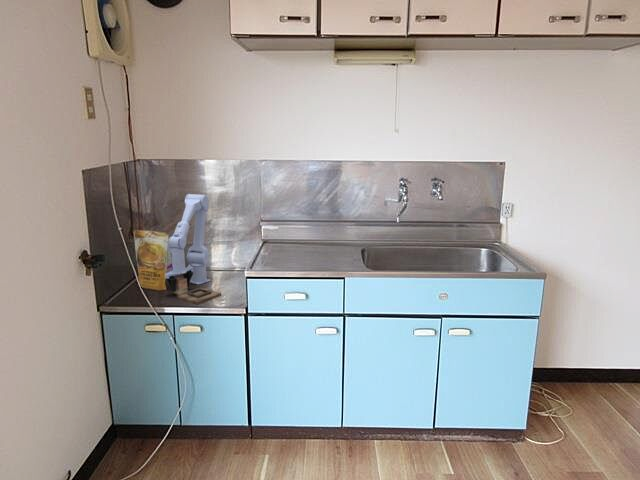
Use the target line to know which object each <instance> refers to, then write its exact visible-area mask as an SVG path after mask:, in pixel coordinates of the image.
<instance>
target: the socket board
mask: <svg viewBox="0 0 640 480" xmlns="http://www.w3.org/2000/svg"><path fill="white" fill-rule="evenodd" d="M221 296H222V292H219V291H215V290H212V289H210V288H206V287H202V286H200V287H197V288H194V289H191V290H188V292H185V293H182V294H179V295H177V294H176V297H177V299H180V300H183V301H185V302H188V303H191V304H195V305H200V304H203V303H205V302H208V301H210V300H213V299H215V298H218V297H221Z"/></svg>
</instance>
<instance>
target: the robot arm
mask: <svg viewBox="0 0 640 480" xmlns="http://www.w3.org/2000/svg"><path fill="white" fill-rule="evenodd" d="M209 201H210V200H209V198H208V196H207V194H193V193H188V194H186V195H185V197H184V207H185V208H184V209H183V214H182V218H181V221H178V222H177V225H176V226H175V229H174V232H173V234H172V236H169V240H168V246H169V248H170V252H171V256H172V267H173V270H172V271H170V272H168V273H166V274H165V278H166V279H165V281H167V283H168V284H169V287H170V289H171V292H173V293H174V292H176V278H177V277H175V276H179V275H182V277H183V278H186V279H187V288H190V284H191V283H192V284H195V285H203V284H205V283H207V282H210V281H211V279H210V278H209V279H208V277H207V264H208V263H209V261H210V254H209V248H208V247H206V246H205V234H206V233H205V232H206V221H207V220H206V218H207V212H208V211H209ZM194 214H195V215H194ZM193 216H194V227H193V228H194V229H193V242H192V243H193V244H192V245H191V246H190V247H189V248H188V251H187V253H186V258H185V248H186V245H187V239H188V238H187V237H188V236H187V235H188V233H189V230H190V221H191V220H192V218H193ZM186 261H187V263H189V264H188V266H186Z"/></svg>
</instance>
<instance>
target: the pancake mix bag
mask: <svg viewBox="0 0 640 480" xmlns="http://www.w3.org/2000/svg"><path fill="white" fill-rule="evenodd" d="M132 233H133V240H134V249H135V259H136V263H137V264H136V265H137V272H138V284H139V283H140V285H141V287H142V289H147V290H154V291H167V286H166V278H165V274H166V268H167V257H168V240H169V238H170V234H168V233H167V232H166V231H154V230H147V229H145V230H144V229H134V230H132ZM141 287H140V288H141Z"/></svg>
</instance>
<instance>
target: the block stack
mask: <svg viewBox="0 0 640 480" xmlns="http://www.w3.org/2000/svg"><path fill="white" fill-rule="evenodd" d="M175 278H176V292H173V294H175V295H176V296H177V295H179V294H182V293H185V292H188V291H189V290H188V287H187V279H186V278H184V276H179V277H175Z"/></svg>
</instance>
